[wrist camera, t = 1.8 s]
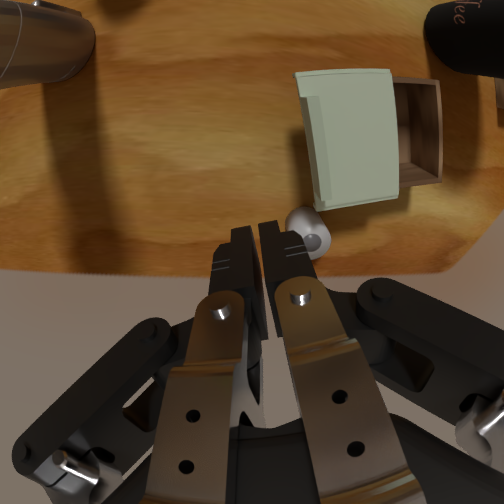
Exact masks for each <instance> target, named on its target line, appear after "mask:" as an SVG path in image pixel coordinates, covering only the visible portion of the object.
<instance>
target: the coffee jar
mask: <svg viewBox="0 0 504 504" xmlns="http://www.w3.org/2000/svg"><path fill="white" fill-rule="evenodd" d="M425 29H426V36H427V38H428V41H429V43H430V46H431V47H432V49H433V51H434V52H435V54H436V55H437V56H438V57H439V58H440V59H441V61H442V62H444V64H446V65H447V66H448V67H450V68H451V69H453V70H454V71H457V72H460V73H464V74H473V75H481V76H488V77H494V78H500V79H504V0H458V1H453V2H448V3H443V4H439V5H436V6H434V7H432V8H431V9H430V11H429V13H428V14H427V17H426V23H425Z"/></svg>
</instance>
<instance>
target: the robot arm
mask: <svg viewBox="0 0 504 504" xmlns="http://www.w3.org/2000/svg"><path fill="white" fill-rule="evenodd" d="M94 42H95V33H94V28H93V26H92V24H91V23H90V22H89V21H88V20H86V19H84V18H82V17H81V12H79V11H76V10H73V9H70V8H67V7H64V6H60V5H57V4H53V3H50V2H46V1H42V0H36V1H34V2H33V3H32V4H26V3H21V2H15V1H7V0H0V89H5V88H11V87H17V86H23V85H30V84H38V83H48V82H49V83H51V82H59V81H64V80H67V79H69V78H71V77H72V76H74V75H75V74H77V73H78V72H79V71H80V70H81V69H82V68H83V66H84V65H85V64H86V62H87V61H88V59H89V57H90V55H91V53H92V50H93V47H94ZM258 228H259V236H260V244H261V252H262V260H263V268H264V276H265V284H266V288H267V293H268V297H269V302H270V306H271V310H272V314H273V319H274V323H275V328H276V332H277V336H278V337H283V340H284V346H285V350H286V355H287V360H288V365H289V369H290V374H291V378H292V383H293V387H294V392H295V396H296V401H297V406H298V411H299V415H300V418H299V419H296V420H294V421H292V422H289V423H286V424H284V425H281V426H279V427H276V428H270V429H269V428H266V424H265V418H264V413H263V359H262V356H261V354H262V348H261V340H267V339H268V330H267V321H266V311H265V302H264V293H263V283H262V274H261V268H260V263H259V258H258V254H257V249H256V245H255V241H254V237H253V232H252V228H251V226H250V225H249V226H244V227H239V228H234V229H231V242H230V243H225V244H220V245H219V247H218V248H217V249H216V251H215V252H214V255H213V264H212V271H211V277H210V285H209V292H208V296H207V297H205V298H204V299H203V300H202V301H201V302H200V303H199V304H198V306H197V309H196V312H195V317H193V318H191V319H189V320H187V321H184V322H182V323H179V324H177V325H175V326H172V327H171V326H170V325H169V323H168V322H167V321H166V320H165V319H162V318H157V317H155V318H149V319H146V320H144V321H142V322H140V323H138V324H137V325H136V326H135V327H134V328H133V329H131V330H130V331H129V332H128V333H127V334H126V335H125V336H124V337H123V338H122V339H121V340H120V341H118V342H117V343H116V344H115V345H114V346H113V347H112V348H111V349H110V350H109V351H108V352H107V353H106V354H104V355H103V356H102V357H101V358H100V359H99V360H98V361H97V362H96V363H95V364H94V365H93V366H92V367H91V368H90V369H89V370H87V371H86V372H85V373H84V374H83V375H82V376H81V377H80V378H79V379H78V380H77V381H76V382H75V383H74V384H73V385H72V386H71V387H70V388H68V389H67V391H66V392H64V393H63V394H62V395H61V396H60V397H59V398H58V399H57V400H56V401H55V402H54V403H53V404H52V405H51V406H50V407H49V408H48V409H47V410H46V411H45V412H44V413H43V414H42V415H41V416H40V417H39V418H38V419H37V420H36V421H35V422H34V423H33V424H32V425H31V426H30V427H29V428H28V429H27V430H26V431H25V432H24V433H23V434H22V435H21V436H20V437H19V438H18V439H17V440H16V442H15V444H14V446H13V450H12V462H13V465H14V468H15V469H16V471H17V472H18V473H19V474H21V475H23V476H25V477H27V478H29V479H31V480H33V481H35V482H37V483H39V484H40V485H41V486H43V488H44V489H45V491H46V493H47V495H48V496H49V498H50V500H51V501H52V503H53V504H504V330H502V329H500V328H498V327H495V326H493V325H491V324H489V323H487V322H485V321H483V320H481V319H479V318H477V317H475V316H472V315H470V314H468V313H466V312H464V311H462V310H460V309H457V308H455V307H453V306H451V305H449V304H446V303H444V302H442V301H440V300H437V299H436V298H433V297H431V296H429V295H427V294H424V293H422V292H420V291H418V290H415V289H413V288H411V287H409V286H406V285H404V284H402V283H399V282H397V281H395V280H392V279H389V278H374V279H370V280H367V281H366V282H364V283H363V284H362V285H361V286H360V287H359V288H358V290H357V293H349V292H336V291H332V290H330V289H327V288H326V287H325V286H324V285H323V283H322V282H320V281H319V280H318V279H317V276H316V273H315V270H314V268H313V265H312V262H311V259H310V257H309V254H308V252H307V249H306V246H305V243H304V241H303V238H302V236H301V235H300V234H298V233H297V232H296V231H294V230H291V231H285V232H280V229H279V226H278V222H277V220H274V221H269V222H264V223H259V224H258ZM151 377H152V378H153V379H154V380H155V381H154V382H153V383H152V384H151V385H150V386H149V387H148V388H147V389H146V390H145V391H144V392H143V393H142V394H141V395H140V396H139V397H138V398H137V399H136V400H135V401H134V402H133V403H132V404H131V405H130V406H128V407H126V408H122V407H123V405H124V404H125V403H126V402H127V401H128V400H129V399H130V398H131V397H132V396H133V395H134V394H135V393H136V392H137V391H138V390H139V388H141V386H143V385H144V383H146V382H147V380H149V379H150V378H151ZM375 380H376V381H378V382H379V383H381V384H383V385H384V386H386V387H388V388H389V389H391V390H393V391H394V392H396V393H398V394H400V395H401V396H403V397H405V398H406V399H408V400H410V401H411V402H413V403H415V404H417V405H418V406H420V407H422V408H424V409H425V410H427V411H429V412H431V413H432V414H434V415H436V416H438V417H439V418H442V419H443V420H445V421H447V422H449V423H451V424H452V425H454V426H456V428H455V435H456V442H457V444H458V445H459V446H460V447H462V448H463V449H464V450H465V451H467V453H468V454H469V455H470V456H469V455H467V454H465V453H463V452H462V451H460V450H458V449H456V448H455V447H453V446H451V445H449V444H448V443H445V442H444V441H442V440H441V439H439V438H437V437H435V436H434V435H432V434H430V433H429V432H427V431H426V430H424V429H422V428H420V427H419V426H417V425H416V424H414V423H412V422H411V421H409V420H407V419H405V418H403V417H400V416H398V415H395V414H392V413H388V411H387V408H386V405H385V403H384V400H383V398H382V395H381V393H380V391H379V388H378V386H377V383H376V381H375ZM153 444H154V445H153ZM152 445H153V450H152V453H151V454H150V455H149V456H148V457H147V458H146V459H145V460H144V461H143V462H142V463H141V464H140V465H139V466H138V467H137V468H136V469H135V470H134V471H133V472H132V473H131V474H130V475H129V476H128V477H127V479H125V480H123V479H122V476H123V475H124V474H125V473H126V472H127V471H128V470H129V469H130V468H131V467H132V466H133V465H134V464H135V463H136V462H137V461H138V460H139V459H140V458H141V457H142V456H143V455H144V454H145V453H146V451H148V450H149V449H150V448H151V447H152Z"/></svg>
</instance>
